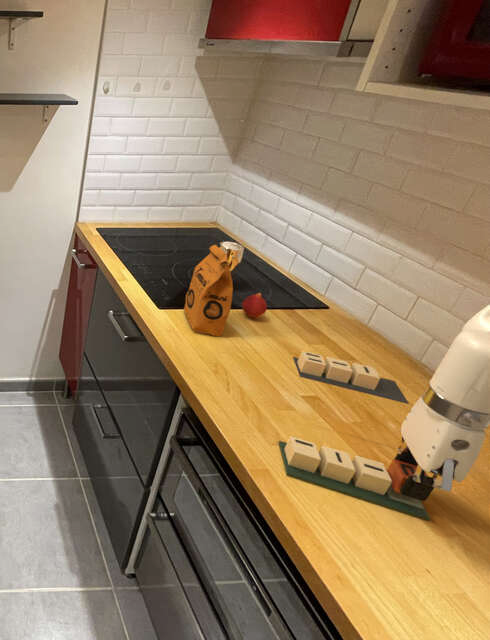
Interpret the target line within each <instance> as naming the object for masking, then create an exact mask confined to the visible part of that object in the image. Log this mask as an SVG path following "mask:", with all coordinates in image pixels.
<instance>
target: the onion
mask: <svg viewBox="0 0 490 640" xmlns="http://www.w3.org/2000/svg"><path fill="white" fill-rule="evenodd" d="M241 307H242V308H241V309H242V311H243V312H244V314H246V315H247V316H248V317H249V318H252V319H253V318H256V317H257V318H258V317H261V316H263V315H265V314H266V312H267V310H268V304H267V302H266V300H265V299H264V298H263V297H262V293H260V292H257V293H256V294H251V295H249V296H247V297H246V298H244V300H243V301H242V303H241Z"/></svg>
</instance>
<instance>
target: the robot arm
mask: <svg viewBox="0 0 490 640" xmlns="http://www.w3.org/2000/svg"><path fill="white" fill-rule="evenodd" d="M489 426H490V304H488V305H486V306H485V307H484V308H483V309H481V310H480V311H478V312H477V313H476V314H475V315H473V316H472V317H471V318H470V319H469V320H468V321H467V322H466V323H465V324H464V325H463V327H462V329H461V331H460V333H458V334H457V335H456V337H455V338H454V340H453V341H452V343H451V345H450V346H449V348H448V350H447V351H446V353H445V355H444V356H443V358H442V360H441V361H440V363H439V365H438V366H437V369H436V370H435V372H434V374H433V375H432V377H431V378H430V381H429V382H428V383H427V385H426V387H425V389H424V390H423V392H422V394H421V395H420V397H419V398H418V400H417V401H416V402H415V403H414V405H413V406H412V408H411V409H410V410H409V412H408V413H407V414H406V417H404V420H403V422H402V424H401V426H400V430H399V431H400V433H401V443H400V445H399V446H398V448H397V452H398V453H396V456H395V457H394V459H395V460H398V461H402V462H405V463H409V464H412V465H416V466H417V468H416V471H415V473H414V476H410V475H409V477H408V479H407V480H406V482H405V483H404V485H403V486H402V488H401V490H400V492H401V494H402V495H405V496H408V497H411V498H414V499H418V500H421V502H426V501H427V500H428V498H429V497H430V495H431V494H432V493H433V491H434V489H437V490H440V491H444V492H447V493H451V492H452V487H453V481H454V482H457V483H462V482H463V481H464V480H465V479H466V477H467V476H468V474H469V472H470V471H471V470H472V467H473V466H474V464H475V462H476V461H477V459H478V456H479V455H480V452H481V451H482V447H483V445H484V441H485V437H486V431H485V430H486V429H488V427H489ZM425 472H426V474H429V473H432V476H430V475H429V476H424V474H425Z"/></svg>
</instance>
